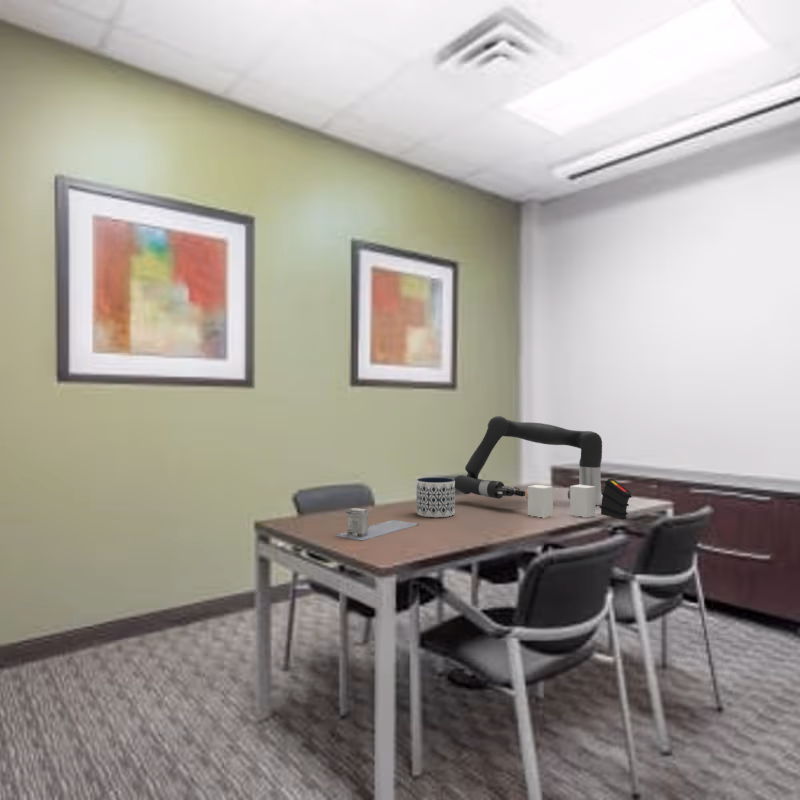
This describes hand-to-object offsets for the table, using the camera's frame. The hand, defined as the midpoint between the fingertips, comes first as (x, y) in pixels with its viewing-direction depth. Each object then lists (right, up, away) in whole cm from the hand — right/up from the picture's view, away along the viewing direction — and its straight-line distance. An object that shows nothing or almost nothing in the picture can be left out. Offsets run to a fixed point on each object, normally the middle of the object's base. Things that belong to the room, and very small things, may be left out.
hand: (524, 493), depth 250 cm
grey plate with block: (-60, -9, -33) cm, 69 cm away
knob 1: (+4, -2, -5) cm, 7 cm away
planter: (-37, -8, -3) cm, 38 cm away
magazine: (+36, -8, -7) cm, 38 cm away
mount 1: (+5, -8, -6) cm, 11 cm away
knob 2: (+22, -2, -3) cm, 23 cm away
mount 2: (+23, -8, -4) cm, 25 cm away
